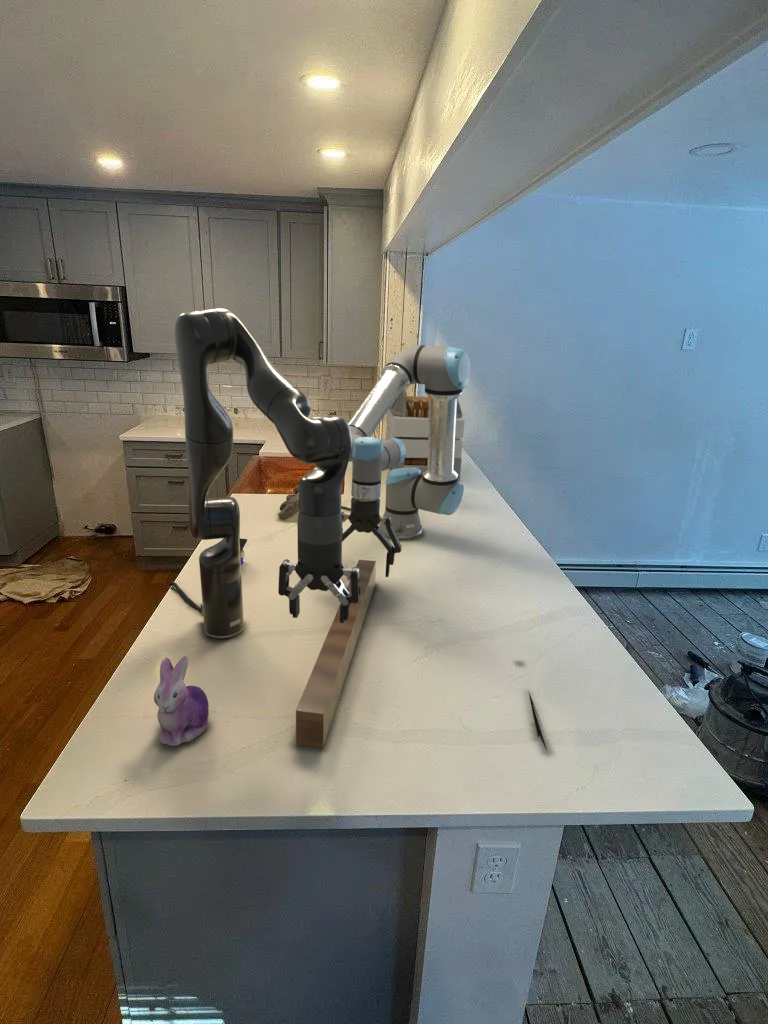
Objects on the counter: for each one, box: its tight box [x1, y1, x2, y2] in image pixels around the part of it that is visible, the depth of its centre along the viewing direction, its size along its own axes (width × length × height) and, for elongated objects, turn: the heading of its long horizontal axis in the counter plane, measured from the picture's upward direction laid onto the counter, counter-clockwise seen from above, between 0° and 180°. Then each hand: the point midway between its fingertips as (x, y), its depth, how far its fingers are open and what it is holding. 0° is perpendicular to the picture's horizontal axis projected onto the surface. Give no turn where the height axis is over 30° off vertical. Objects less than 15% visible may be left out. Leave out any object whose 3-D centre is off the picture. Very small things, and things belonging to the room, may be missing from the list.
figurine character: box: [240, 537, 248, 567], centre depth 166 cm, size 7×8×15 cm
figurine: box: [153, 655, 210, 747], centre depth 102 cm, size 9×10×15 cm
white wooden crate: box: [384, 389, 465, 482], centre depth 268 cm, size 34×33×41 cm
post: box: [295, 559, 377, 749], centre depth 131 cm, size 65×5×8 cm, turn 173°
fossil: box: [277, 485, 299, 521], centre depth 215 cm, size 22×10×15 cm
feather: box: [528, 689, 548, 751], centre depth 116 cm, size 2×28×2 cm
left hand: (319, 618), depth 101 cm, fingers open, 8 cm apart
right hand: (362, 572), depth 153 cm, fingers open, 13 cm apart
